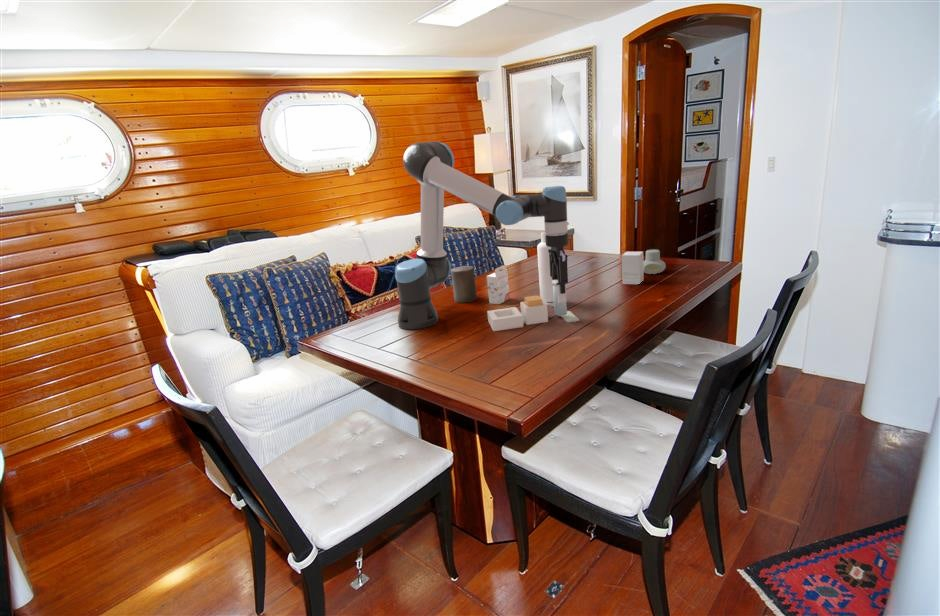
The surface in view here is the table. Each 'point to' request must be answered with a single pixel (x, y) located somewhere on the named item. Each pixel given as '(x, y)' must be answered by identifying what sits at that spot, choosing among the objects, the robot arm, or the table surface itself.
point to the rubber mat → (570, 317)
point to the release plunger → (533, 301)
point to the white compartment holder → (517, 316)
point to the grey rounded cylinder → (561, 307)
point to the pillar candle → (464, 284)
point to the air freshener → (653, 262)
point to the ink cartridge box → (498, 286)
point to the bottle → (545, 272)
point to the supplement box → (632, 267)
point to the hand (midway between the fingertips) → (559, 299)
